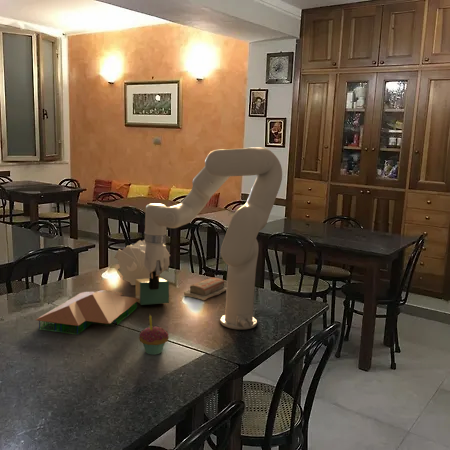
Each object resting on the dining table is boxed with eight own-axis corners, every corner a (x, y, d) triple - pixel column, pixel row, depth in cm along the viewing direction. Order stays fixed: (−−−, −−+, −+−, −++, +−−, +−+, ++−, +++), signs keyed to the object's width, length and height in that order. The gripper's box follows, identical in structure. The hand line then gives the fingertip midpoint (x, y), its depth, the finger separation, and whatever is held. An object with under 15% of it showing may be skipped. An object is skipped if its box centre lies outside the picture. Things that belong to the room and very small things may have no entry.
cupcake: (155, 360, 141) (156, 319, 139) (132, 352, 145) (133, 312, 143) (174, 350, 148) (175, 311, 146) (151, 342, 152) (152, 304, 150)
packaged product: (209, 275, 213) (229, 279, 208) (208, 286, 214) (228, 290, 208) (183, 284, 198) (204, 289, 192) (183, 296, 198) (204, 301, 193)
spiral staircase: (162, 283, 228) (140, 296, 204) (131, 263, 231) (105, 273, 207) (181, 249, 224) (160, 258, 200) (148, 229, 227) (124, 235, 203)
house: (142, 305, 185) (142, 284, 184) (103, 338, 153) (103, 313, 152) (84, 298, 190) (84, 277, 188) (35, 329, 158) (34, 304, 156)
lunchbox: (168, 302, 184) (168, 281, 184) (141, 305, 180) (140, 282, 180) (161, 298, 194) (161, 277, 194) (135, 300, 191) (134, 279, 190)
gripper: (140, 234, 183) (138, 283, 186) (150, 243, 169) (148, 295, 172) (160, 234, 186) (158, 282, 189) (171, 242, 172) (169, 294, 175)
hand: (153, 288), depth 180 cm, fingers closed
